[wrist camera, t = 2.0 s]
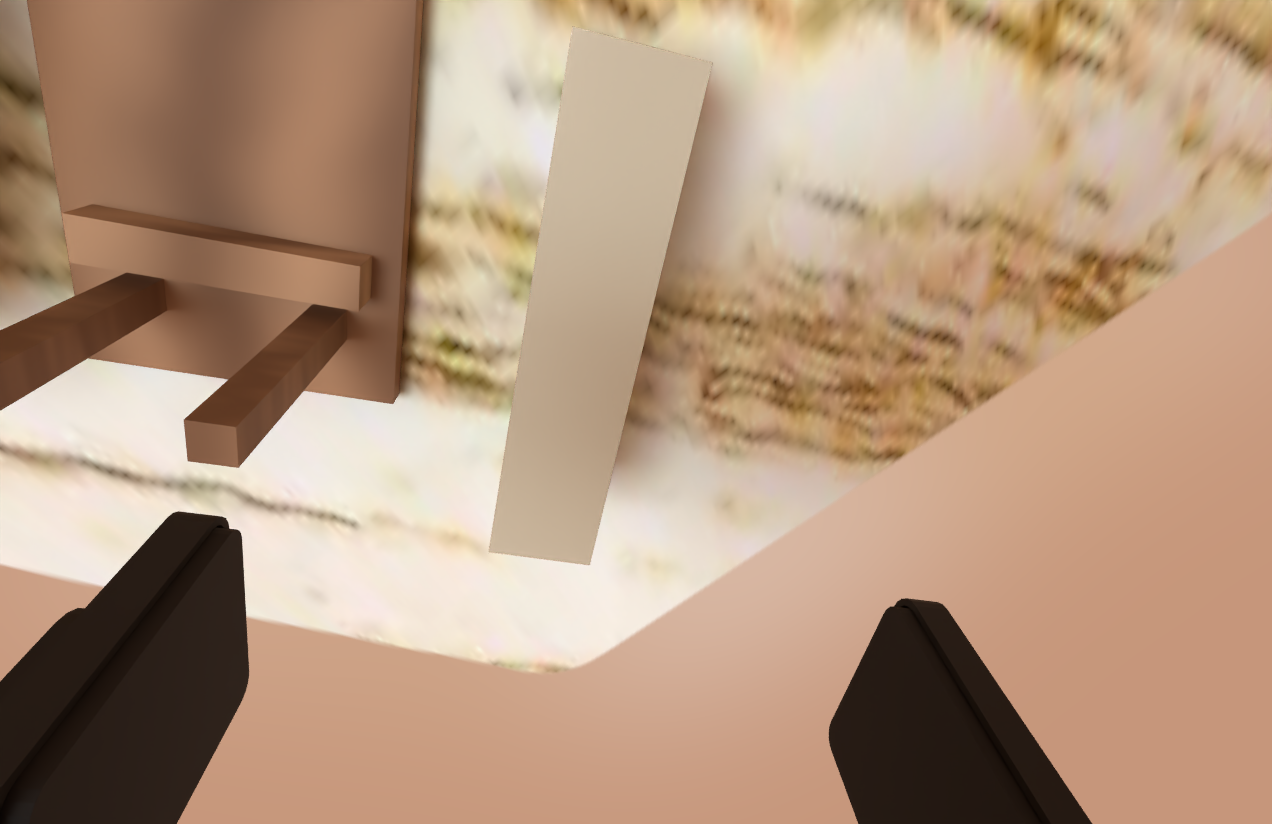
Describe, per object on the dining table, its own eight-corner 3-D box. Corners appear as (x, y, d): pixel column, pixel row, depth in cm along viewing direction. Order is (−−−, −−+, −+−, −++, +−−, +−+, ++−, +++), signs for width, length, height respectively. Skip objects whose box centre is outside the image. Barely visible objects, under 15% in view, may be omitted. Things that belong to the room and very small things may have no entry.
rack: (438, -247, 19) (310, -520, 10) (399, 393, 28) (312, 550, 19) (-7, -379, 17) (-639, -853, 8) (101, 347, 26) (-150, 496, 17)
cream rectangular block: (575, 35, 22) (572, 26, 16) (677, 62, 23) (712, 62, 17) (508, 448, 29) (488, 552, 23) (588, 460, 30) (589, 565, 24)
